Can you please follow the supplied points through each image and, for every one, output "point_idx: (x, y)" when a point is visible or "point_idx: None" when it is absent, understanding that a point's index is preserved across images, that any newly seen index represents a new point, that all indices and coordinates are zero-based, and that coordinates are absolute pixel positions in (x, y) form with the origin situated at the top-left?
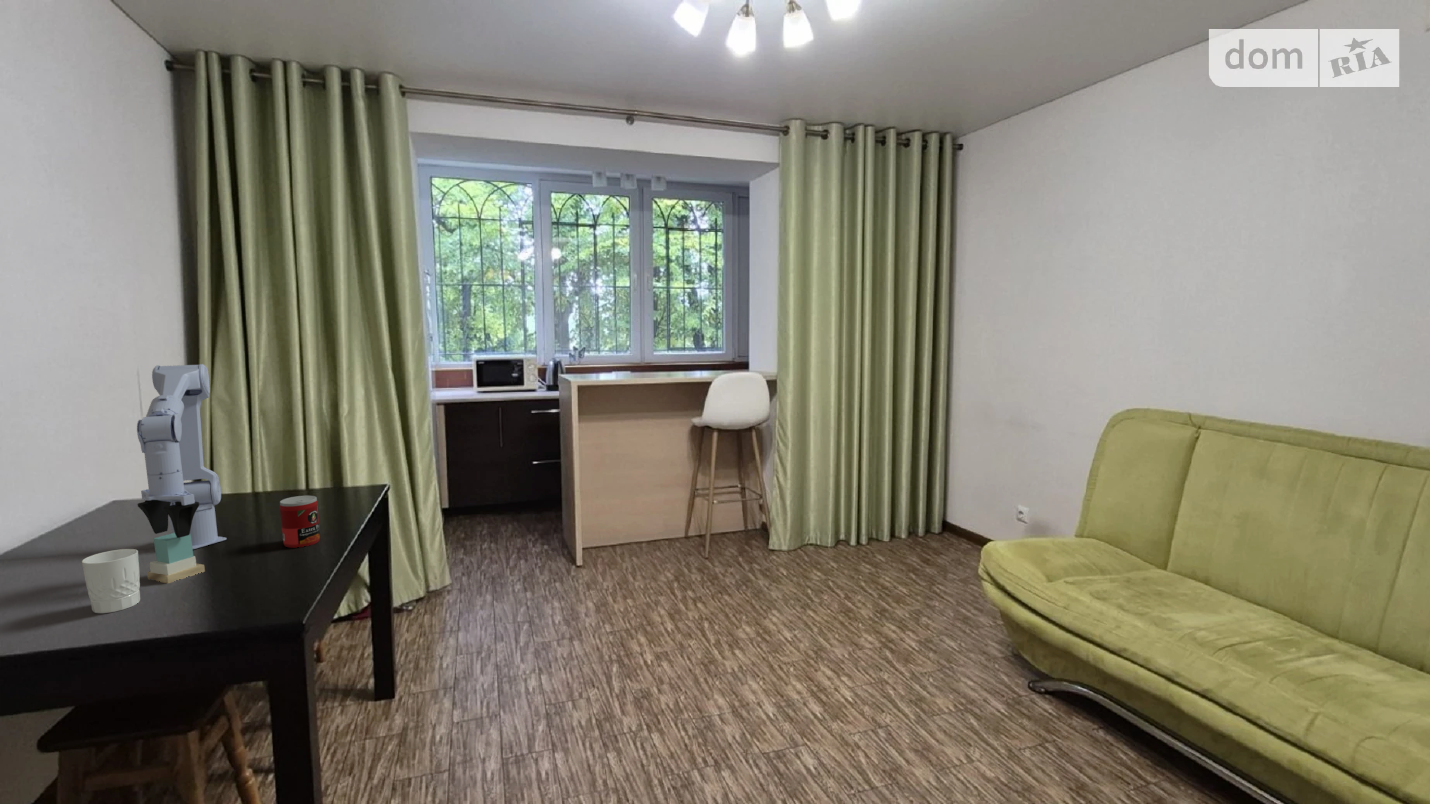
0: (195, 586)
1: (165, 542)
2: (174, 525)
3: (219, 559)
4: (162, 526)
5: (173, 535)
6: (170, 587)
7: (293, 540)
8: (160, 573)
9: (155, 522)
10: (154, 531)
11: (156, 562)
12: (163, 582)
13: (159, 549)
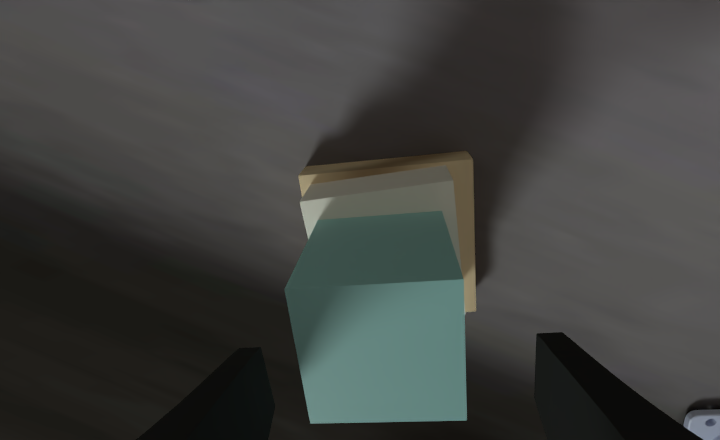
0: (160, 202)
1: (305, 280)
2: (180, 419)
3: None
4: (555, 413)
5: (390, 368)
6: (238, 148)
7: None
8: (367, 177)
9: (583, 418)
10: (560, 341)
11: (411, 198)
12: (341, 163)
13: (399, 245)
